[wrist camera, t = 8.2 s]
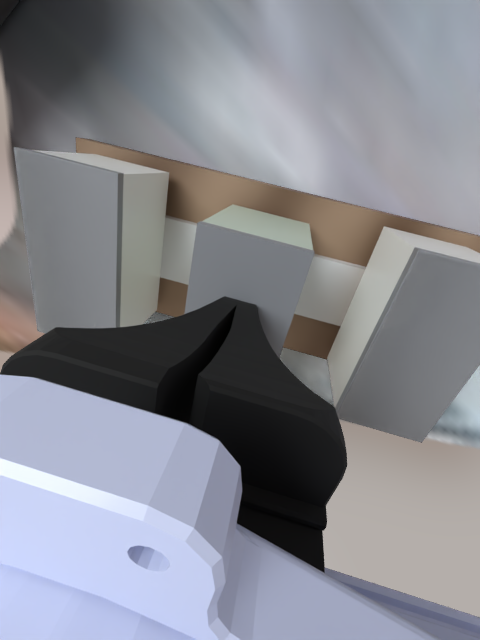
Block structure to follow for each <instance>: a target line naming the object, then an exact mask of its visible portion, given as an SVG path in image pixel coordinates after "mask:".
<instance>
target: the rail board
mask: <svg viewBox="0 0 480 640" xmlns="http://www.w3.org/2000/svg"><path fill="white" fill-rule="evenodd" d="M76 153H86V154H97V155H101V156H105V157H109V158H113V159H117V160H121V161H125V162H129V163H133V164H137V165H141V166H145V167H149V168H153V169H157V170H161V171H165V172H169V182H168V193H167V204H166V215H165V227H164V238H163V249H162V260H161V271H160V283H159V294H158V305H157V311H156V312H159V313H163V314H166V315H170V316H173V317H178V316H181V315H184V313H185V306H186V299H187V291H188V284H189V277H190V270H191V263H192V256H193V249H194V242H195V235H196V228H197V223H198V222H200V221H203V220H205V219H207V218H209V217H211V216H213V215H214V214H216V213H218V212H220V211H222V210H224V209H225V208H227V207H229V206H231V205H237V206H241V207H245V208H249V209H253V210H257V211H261V212H265V213H269V214H273V215H277V216H280V217H284V218H288V219H292V220H296V221H300V222H304V223H308V224H309V226H310V232H311V239H312V245H313V250H314V253H315V254H314V257H313V260H312V263H311V266H310V269H309V272H308V275H307V277H306V280H305V283H304V286H303V289H302V292H301V295H300V298H299V301H298V304H297V307H296V310H295V313H294V316H293V319H292V322H291V324H290V327H289V330H288V333H287V336H286V339H285V342H284V345H283V347H284V348H288V349H291V350H295V351H299V352H302V353H306V354H309V355H313V356H317V357H320V358H324V359H327V357H328V354H329V352H330V350H331V348H332V345H333V343H334V341H335V338H336V336H337V334H338V331H339V329H340V327H341V324H342V322H343V320H344V317H345V315H346V313H347V311H348V308H349V306H350V304H351V301H352V299H353V297H354V294H355V292H356V290H357V287H358V285H359V283H360V280H361V278H362V276H363V274H364V271H365V269H366V267H367V264H368V262H369V260H370V257H371V255H372V253H373V250H374V248H375V246H376V243H377V241H378V239H379V237H380V234H381V232H382V230H383V227H384V226H385V227H389V228H393V229H397V230H401V231H405V232H409V233H413V234H417V235H421V236H425V237H429V238H433V239H436V240H440V241H444V242H448V243H452V244H456V245H460V246H464V247H468V248H470V249H472V250H474V251H476V252H478V253H480V236H478V235H474V234H470V233H466V232H462V231H458V230H454V229H450V228H446V227H442V226H438V225H434V224H430V223H426V222H422V221H418V220H414V219H410V218H406V217H402V216H398V215H394V214H390V213H386V212H381V211H377V210H373V209H369V208H365V207H361V206H357V205H353V204H349V203H345V202H341V201H337V200H333V199H329V198H325V197H321V196H317V195H313V194H309V193H305V192H301V191H297V190H293V189H289V188H285V187H281V186H276V185H272V184H268V183H264V182H260V181H256V180H252V179H248V178H244V177H240V176H236V175H232V174H228V173H224V172H220V171H216V170H212V169H208V168H204V167H200V166H196V165H192V164H188V163H184V162H180V161H176V160H171V159H167V158H163V157H159V156H155V155H151V154H147V153H143V152H139V151H135V150H131V149H127V148H123V147H119V146H115V145H111V144H107V143H103V142H99V141H95V140H91V139H84V138H77V137H76Z"/></svg>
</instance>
